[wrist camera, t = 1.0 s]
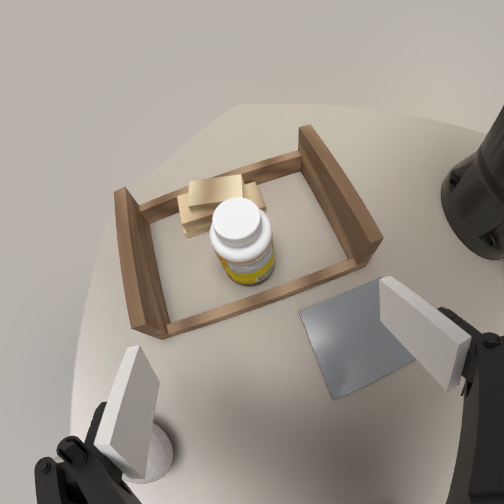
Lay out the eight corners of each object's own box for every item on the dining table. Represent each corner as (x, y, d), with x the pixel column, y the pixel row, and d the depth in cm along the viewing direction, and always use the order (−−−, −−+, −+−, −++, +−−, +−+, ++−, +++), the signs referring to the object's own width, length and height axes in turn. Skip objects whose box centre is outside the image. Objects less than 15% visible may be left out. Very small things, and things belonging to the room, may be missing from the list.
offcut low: (256, 190, 37) (255, 181, 36) (266, 215, 36) (265, 206, 34) (183, 214, 37) (178, 206, 35) (189, 240, 35) (184, 233, 34)
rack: (307, 162, 38) (310, 124, 31) (365, 265, 31) (383, 237, 25) (138, 221, 36) (114, 191, 30) (161, 339, 30) (131, 328, 23)
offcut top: (242, 182, 33) (241, 174, 32) (244, 206, 32) (243, 198, 30) (192, 189, 34) (189, 181, 32) (191, 213, 32) (187, 206, 31)
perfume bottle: (195, 444, 25) (146, 476, 14) (150, 495, 22) (94, 532, 11) (142, 400, 27) (74, 404, 16) (103, 452, 24) (35, 469, 14)
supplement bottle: (228, 240, 34) (208, 188, 25) (276, 242, 33) (273, 189, 24) (221, 286, 32) (196, 246, 22) (272, 289, 31) (268, 250, 22)
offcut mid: (243, 186, 35) (241, 176, 34) (252, 212, 34) (250, 203, 32) (181, 205, 35) (176, 196, 33) (186, 232, 33) (181, 223, 32)
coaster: (380, 278, 30) (381, 277, 30) (414, 358, 26) (416, 358, 26) (298, 312, 30) (298, 311, 29) (332, 400, 26) (333, 400, 25)
